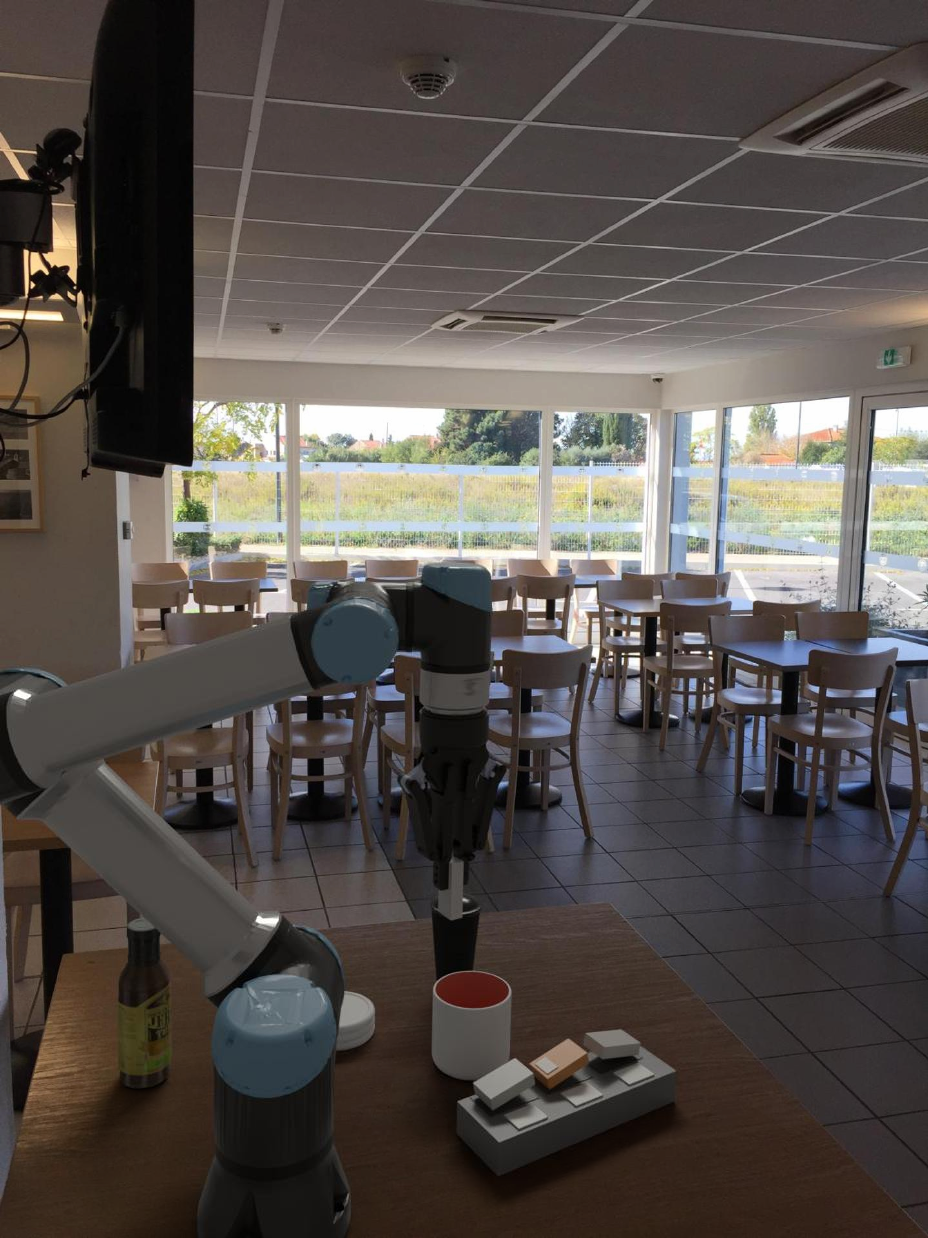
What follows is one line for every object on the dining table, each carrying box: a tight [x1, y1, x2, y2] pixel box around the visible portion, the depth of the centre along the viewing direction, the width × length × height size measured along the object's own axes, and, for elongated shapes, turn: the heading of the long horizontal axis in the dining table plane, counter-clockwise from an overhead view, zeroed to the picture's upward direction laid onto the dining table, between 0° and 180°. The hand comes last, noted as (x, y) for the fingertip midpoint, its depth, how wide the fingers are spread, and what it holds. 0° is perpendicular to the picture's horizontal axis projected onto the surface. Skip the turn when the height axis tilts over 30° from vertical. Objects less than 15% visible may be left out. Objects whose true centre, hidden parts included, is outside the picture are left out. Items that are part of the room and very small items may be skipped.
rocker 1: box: [472, 1058, 535, 1110], centre depth 117 cm, size 6×4×2 cm, turn 122°
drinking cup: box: [428, 892, 483, 983], centre depth 147 cm, size 8×8×20 cm
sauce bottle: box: [117, 917, 172, 1089], centre depth 125 cm, size 6×6×20 cm
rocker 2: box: [528, 1037, 589, 1089], centre depth 121 cm, size 6×4×2 cm, turn 122°
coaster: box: [336, 990, 376, 1052], centre depth 138 cm, size 10×10×4 cm
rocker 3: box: [582, 1029, 642, 1059], centre depth 126 cm, size 6×4×2 cm, turn 123°
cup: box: [431, 970, 513, 1081], centre depth 131 cm, size 10×10×10 cm
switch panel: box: [456, 1045, 677, 1177], centre depth 120 cm, size 26×8×4 cm, turn 123°
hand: (450, 914), depth 113 cm, fingers closed
